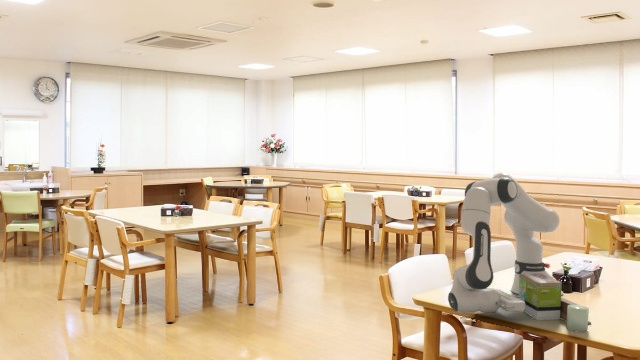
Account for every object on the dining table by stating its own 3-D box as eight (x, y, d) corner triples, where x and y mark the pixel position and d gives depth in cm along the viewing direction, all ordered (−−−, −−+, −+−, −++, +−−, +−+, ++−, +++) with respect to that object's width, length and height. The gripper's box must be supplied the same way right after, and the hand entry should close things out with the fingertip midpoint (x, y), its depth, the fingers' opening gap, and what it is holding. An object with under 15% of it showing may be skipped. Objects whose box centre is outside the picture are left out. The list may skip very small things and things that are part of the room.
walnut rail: (551, 306, 240) (552, 289, 240) (591, 324, 217) (592, 305, 216) (536, 306, 239) (537, 290, 238) (574, 325, 215) (575, 306, 215)
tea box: (516, 309, 235) (518, 273, 234) (540, 308, 237) (541, 272, 236) (536, 320, 220) (538, 282, 219) (561, 320, 222) (563, 281, 221)
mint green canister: (579, 325, 215) (580, 304, 215) (591, 331, 208) (593, 309, 208) (562, 326, 214) (563, 305, 213) (574, 332, 207) (575, 310, 206)
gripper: (504, 299, 213) (538, 298, 216) (477, 285, 233) (508, 284, 236) (504, 316, 213) (537, 314, 217) (476, 301, 233) (507, 300, 236)
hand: (522, 299), depth 226 cm, fingers closed
